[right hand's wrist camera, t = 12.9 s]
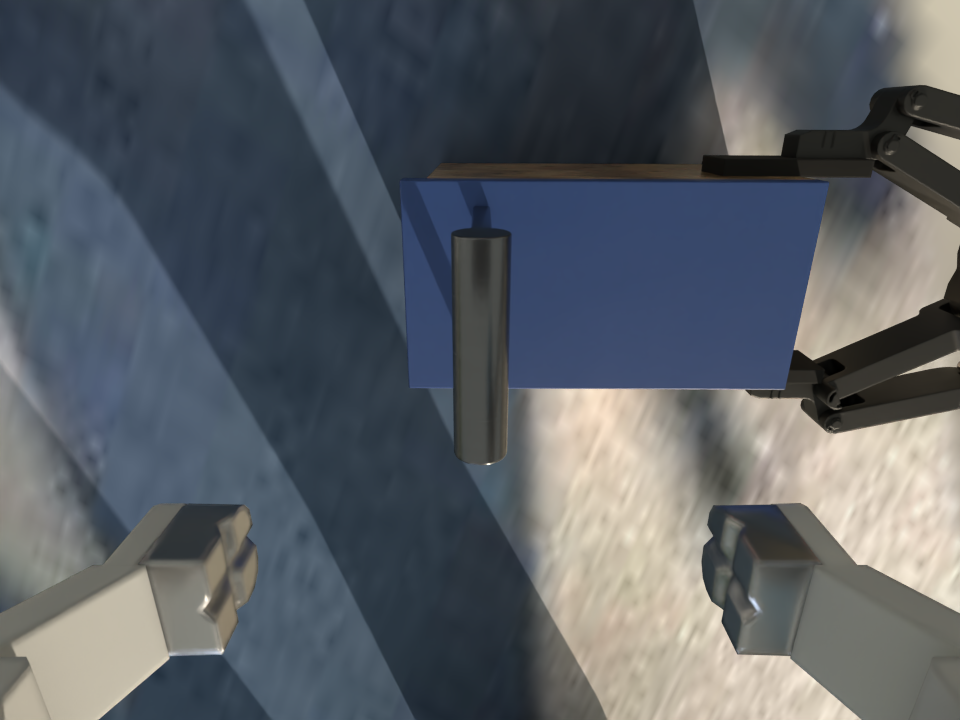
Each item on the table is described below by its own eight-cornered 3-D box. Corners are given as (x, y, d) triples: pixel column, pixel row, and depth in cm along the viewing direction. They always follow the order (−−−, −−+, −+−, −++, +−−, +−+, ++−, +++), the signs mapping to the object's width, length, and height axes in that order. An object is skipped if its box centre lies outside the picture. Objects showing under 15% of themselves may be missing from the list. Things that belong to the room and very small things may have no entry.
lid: (411, 379, 28) (381, 486, 20) (402, 178, 25) (362, 206, 17) (775, 381, 28) (896, 489, 20) (817, 179, 25) (984, 209, 17)
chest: (443, 319, 37) (431, 379, 28) (440, 163, 33) (425, 178, 25) (707, 320, 37) (775, 380, 28) (731, 164, 33) (816, 179, 25)
